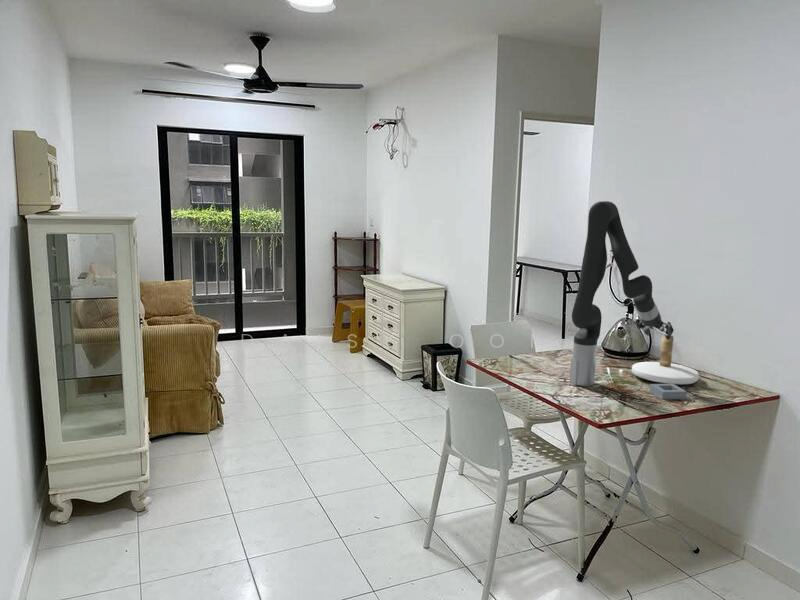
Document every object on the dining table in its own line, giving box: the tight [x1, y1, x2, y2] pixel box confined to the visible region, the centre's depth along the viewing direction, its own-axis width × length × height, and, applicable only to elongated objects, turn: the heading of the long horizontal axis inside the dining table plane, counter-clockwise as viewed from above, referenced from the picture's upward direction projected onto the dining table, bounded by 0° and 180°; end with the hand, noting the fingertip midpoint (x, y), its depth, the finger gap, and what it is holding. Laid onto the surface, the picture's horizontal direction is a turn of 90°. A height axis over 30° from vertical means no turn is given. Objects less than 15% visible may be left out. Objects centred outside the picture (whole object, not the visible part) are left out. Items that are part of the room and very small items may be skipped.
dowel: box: [659, 334, 674, 367], centre depth 248 cm, size 4×4×13 cm
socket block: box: [649, 383, 687, 400], centre depth 228 cm, size 10×10×3 cm
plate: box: [631, 361, 700, 385], centre depth 250 cm, size 28×6×27 cm
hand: (658, 335), depth 243 cm, fingers open, 8 cm apart
